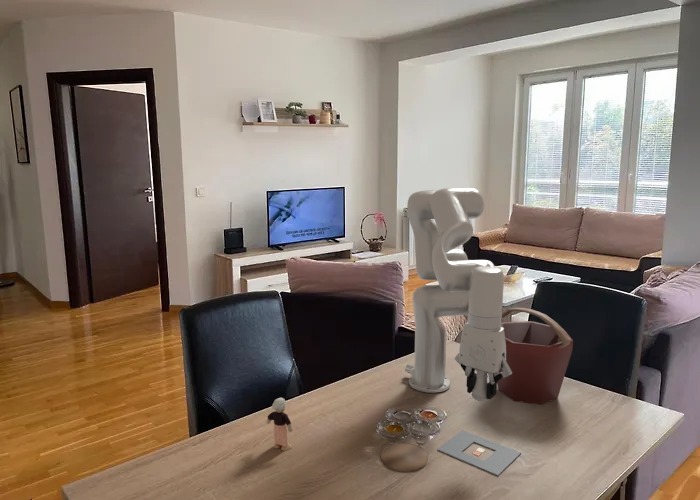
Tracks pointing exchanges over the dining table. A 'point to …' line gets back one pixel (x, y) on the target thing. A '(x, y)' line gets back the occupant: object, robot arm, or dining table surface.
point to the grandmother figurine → (280, 424)
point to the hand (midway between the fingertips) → (481, 393)
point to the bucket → (534, 358)
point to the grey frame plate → (492, 464)
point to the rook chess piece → (480, 386)
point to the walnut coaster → (404, 457)
